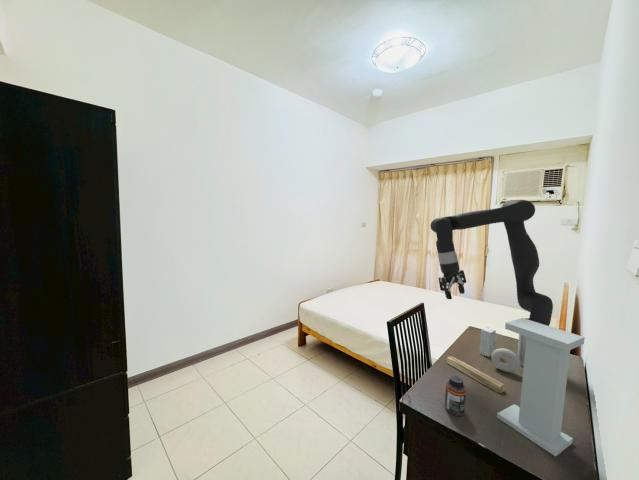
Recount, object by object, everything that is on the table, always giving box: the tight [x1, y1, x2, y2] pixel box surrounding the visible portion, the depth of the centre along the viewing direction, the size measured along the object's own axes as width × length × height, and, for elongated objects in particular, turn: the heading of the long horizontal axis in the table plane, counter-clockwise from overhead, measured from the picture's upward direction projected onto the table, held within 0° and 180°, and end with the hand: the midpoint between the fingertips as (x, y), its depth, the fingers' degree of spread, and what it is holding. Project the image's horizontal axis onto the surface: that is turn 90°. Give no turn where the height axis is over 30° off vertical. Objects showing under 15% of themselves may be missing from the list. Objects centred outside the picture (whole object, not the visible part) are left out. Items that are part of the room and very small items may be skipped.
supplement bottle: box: [444, 374, 467, 417], centre depth 85 cm, size 6×6×11 cm
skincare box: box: [479, 326, 497, 358], centre depth 122 cm, size 6×4×12 cm
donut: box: [490, 347, 521, 373], centre depth 108 cm, size 10×4×10 cm, turn 51°
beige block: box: [446, 355, 505, 394], centre depth 105 cm, size 3×22×3 cm, turn 27°
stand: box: [496, 317, 585, 457], centre depth 77 cm, size 10×15×32 cm, turn 26°
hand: (455, 296), depth 114 cm, fingers open, 8 cm apart
